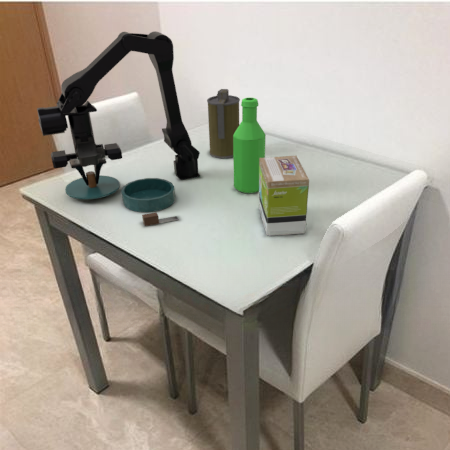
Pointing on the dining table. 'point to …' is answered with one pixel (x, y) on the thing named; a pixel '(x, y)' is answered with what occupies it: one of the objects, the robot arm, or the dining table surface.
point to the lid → (92, 187)
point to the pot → (148, 194)
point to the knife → (155, 219)
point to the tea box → (283, 195)
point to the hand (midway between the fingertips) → (92, 184)
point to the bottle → (248, 148)
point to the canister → (222, 123)
